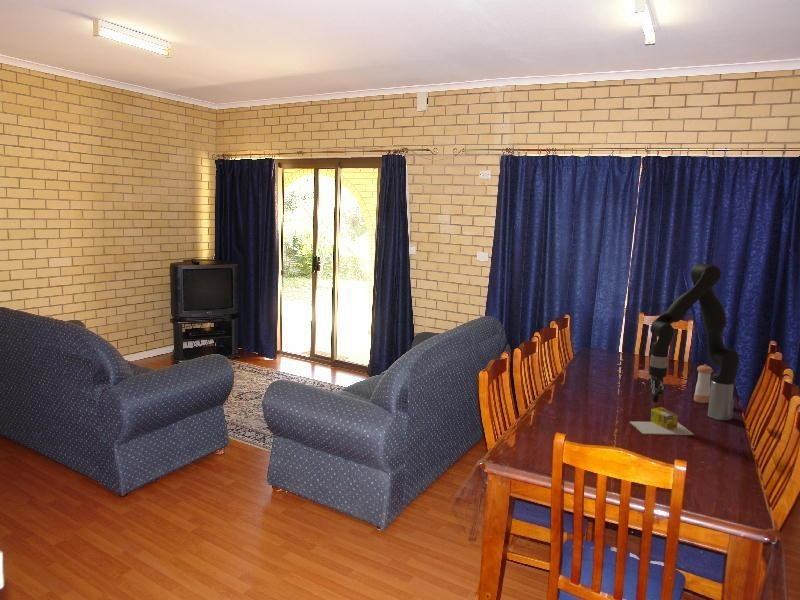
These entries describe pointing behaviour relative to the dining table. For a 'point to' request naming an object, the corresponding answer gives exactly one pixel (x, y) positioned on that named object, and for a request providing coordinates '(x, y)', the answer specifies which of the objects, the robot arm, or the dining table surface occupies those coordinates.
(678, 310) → the robot arm
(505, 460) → the dining table surface
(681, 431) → the mat
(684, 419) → the dining table surface
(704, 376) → the salt shaker
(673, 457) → the dining table surface
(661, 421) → the supplement box
